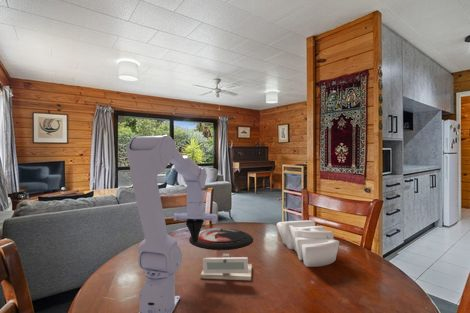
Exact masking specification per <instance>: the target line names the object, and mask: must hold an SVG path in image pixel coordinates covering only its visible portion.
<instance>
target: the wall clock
mask: <svg viewBox="0 0 470 313" xmlns="http://www.w3.org/2000/svg"><path fill="white" fill-rule="evenodd" d="M253 240H254V238H253V236H252V235H250V234H249V233H248V232H245V231H242V230H239V229H237V228H236V229H235V228H229V227H228V228H227V227H216V228H215V227H213V228H207V229H203V230H200V233H199V237H198V241H197V242H193V241H192V237H191V236H190V237H189V239H188V241H189V242H190V244H192V245H193V246H195V247H199V248H201V249H202V248H203V249H206V250H207V249H208V250H219V251H220V250H234V249H239V248H240V249H241V248H243V247H246V246H249V245H250V244H251V243H252V242H253Z"/></svg>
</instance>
